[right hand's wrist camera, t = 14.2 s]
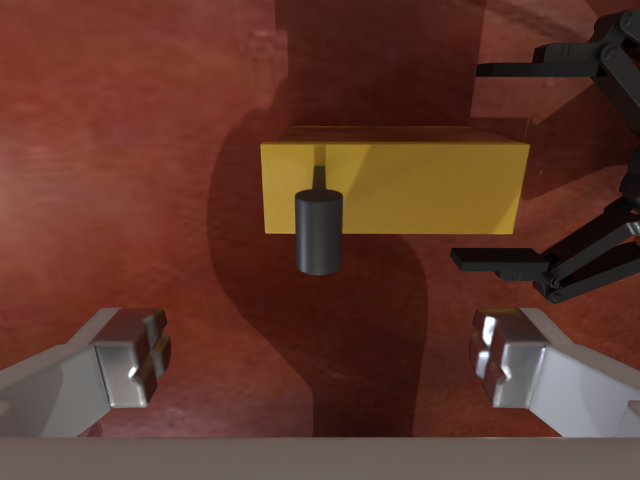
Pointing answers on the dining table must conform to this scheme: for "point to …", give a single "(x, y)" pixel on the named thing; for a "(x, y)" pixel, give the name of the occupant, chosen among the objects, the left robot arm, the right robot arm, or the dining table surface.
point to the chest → (389, 134)
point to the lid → (387, 191)
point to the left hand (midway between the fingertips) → (468, 173)
